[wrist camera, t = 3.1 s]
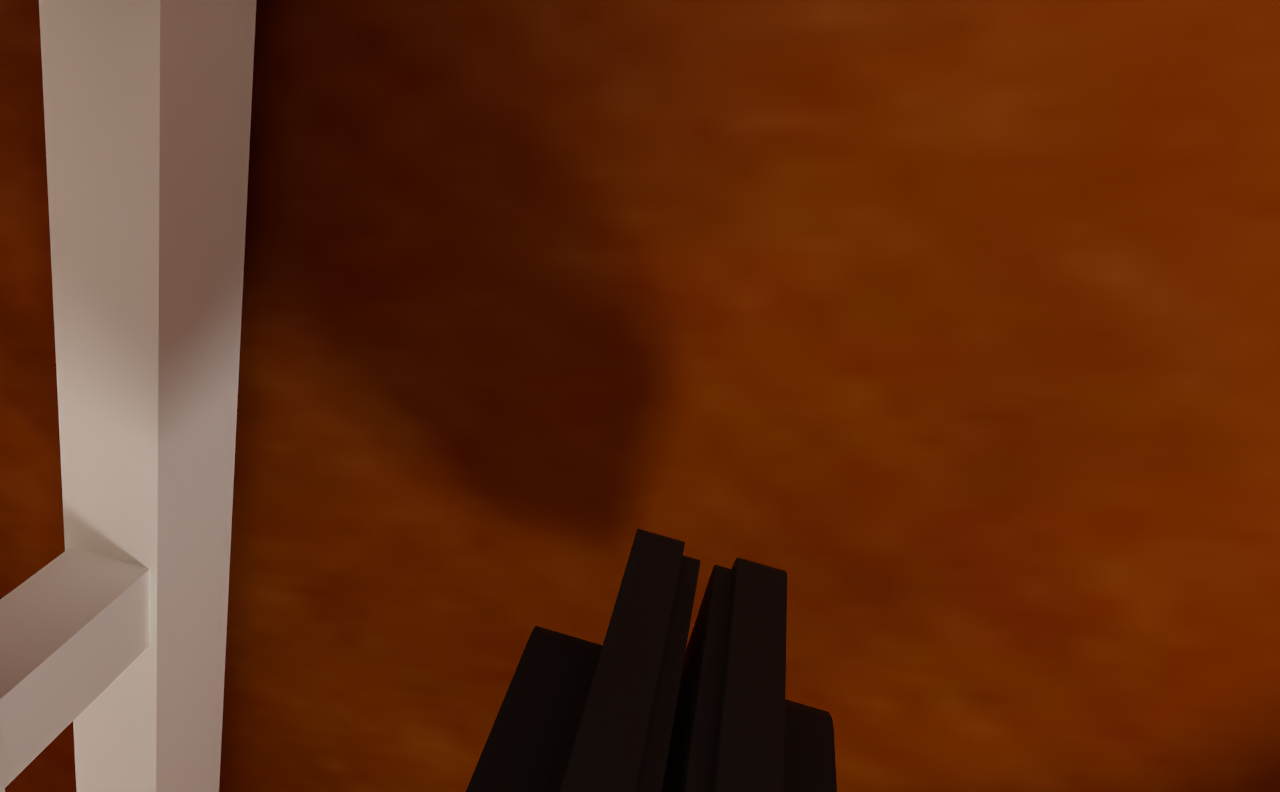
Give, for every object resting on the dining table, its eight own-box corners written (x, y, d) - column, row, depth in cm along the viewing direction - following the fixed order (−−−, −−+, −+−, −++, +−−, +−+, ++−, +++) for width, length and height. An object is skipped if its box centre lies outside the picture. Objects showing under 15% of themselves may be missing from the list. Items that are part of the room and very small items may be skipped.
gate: (219, 948, 16) (-41, 1370, 11) (142, 922, 16) (-151, 1330, 11) (280, -208, 9) (-420, -488, 4) (136, -244, 9) (-739, -567, 4)
